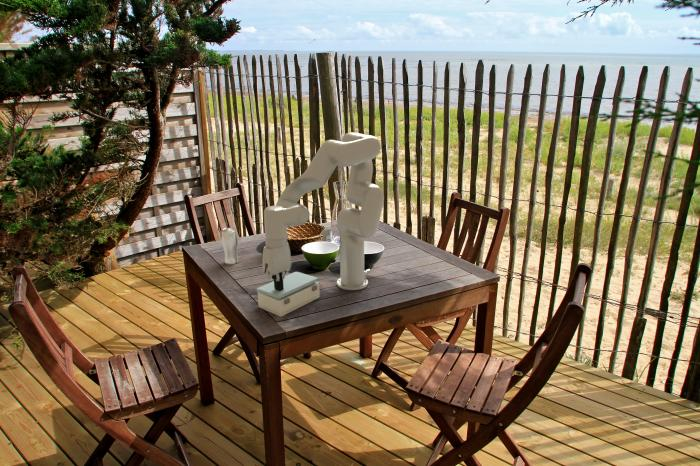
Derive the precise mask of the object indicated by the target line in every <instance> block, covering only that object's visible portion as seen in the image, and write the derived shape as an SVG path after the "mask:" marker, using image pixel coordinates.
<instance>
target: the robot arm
mask: <svg viewBox="0 0 700 466" xmlns="http://www.w3.org/2000/svg"><path fill="white" fill-rule="evenodd" d="M380 151H381V142H380V141H379V139H378V138H377V137H376V136H374V135H370V134H365V133H361V132H360V133H359V132H350V131H349V132H347V133H345V134H343V136H342V138H341V141H340V140H336V139H328V140H324V142H322V144H321V146H319V148H318V150H317V152H316V153H315V155H314V157H312V160H311V161H310V163H309V164H308V166H307V168H306V170H305V171H304V172H303V173H302V174H301V175H299V176H298V177H296V178H295V179H294V180H293V181H291V183H289V184H287V186H286V187H285V188H284V190H283V191H282V193H281V194H280V196H279V198H278V199H277V202H276V203H275V205H271V206H267V207H265V208H264V210H263V220H264V221H263V222H264V237H265V246H263V250H262V263H261V265H262V273H265V278H266V279H268V280H273V281H274V289H276V290H278V291H281V290H284V287H283V279H284V278H285V276H286V274H287V273H288V272H290V270H291V267H292V256H291V255H292V254H291V249H290V245H289V242H288V239H289V235H288V230H287V228H288V227H298V226H302V225H304V224H306V223H307V222H308V221H309V219H310V215H311V214H310V211H309V209H308V208H307V207H306V205H303V204H302V203H298V202H299V201H300V199H301V198H302V197H303V196H304V195H305V194H307V193H309V192H311V191H314V190H318V189H320V188H323V187H324V186H325V185H326V184H327V183H328V181H329V179H330V178H331V176H332V174H333V173H334V171H335V169H336V168H337V166H338V167H343V168H347V167H350V171H349V175H348V180H347V181H348V182H347V186H346V192H345V198H346V200H347V202H348V203H349V204H351V205H354V206H357V207H360V209H359V208H356V207H351V206H350V207H349V206H348V207H344V208H342V209H341V210H340V211H339V212H338V214H337V219H336V225H337V228H338V230H337V231H338V232H339V236H340V242H339V261H340V264H339V265H340V266H339V269H340V270H339V271H340V277H339V278H338V279H337V280H336V285H337V288H340V289H342V290H347V291H359V290H362V289H365V288H366V287H368V286H369V280H368V279H367V278H366V277H367V275H369V274H371V273H372V270H371V269H370V268H368V269H365V239H370V238H372V237H374V235H376V233H377V231H378V228H379V226H380V222H381V217H382V212H383V207H384V201H385V196H384V192H383V189H382V188H381V187H380V186H379V185H377V184H375V183H372V178H373V172H374V165H373V159H375V158H376V157H377V156H378V155H379V153H380Z"/></svg>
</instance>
